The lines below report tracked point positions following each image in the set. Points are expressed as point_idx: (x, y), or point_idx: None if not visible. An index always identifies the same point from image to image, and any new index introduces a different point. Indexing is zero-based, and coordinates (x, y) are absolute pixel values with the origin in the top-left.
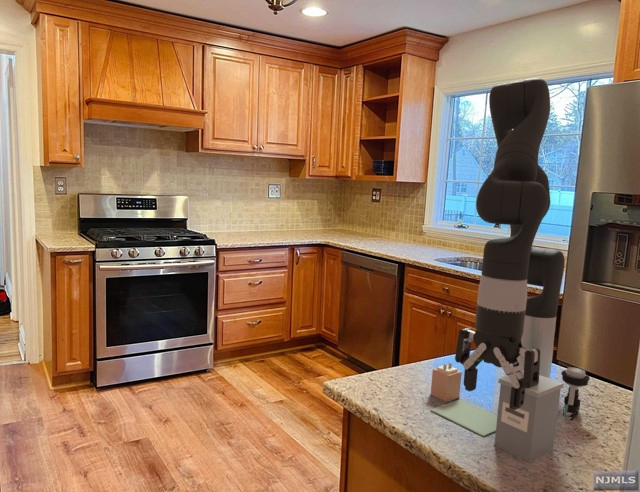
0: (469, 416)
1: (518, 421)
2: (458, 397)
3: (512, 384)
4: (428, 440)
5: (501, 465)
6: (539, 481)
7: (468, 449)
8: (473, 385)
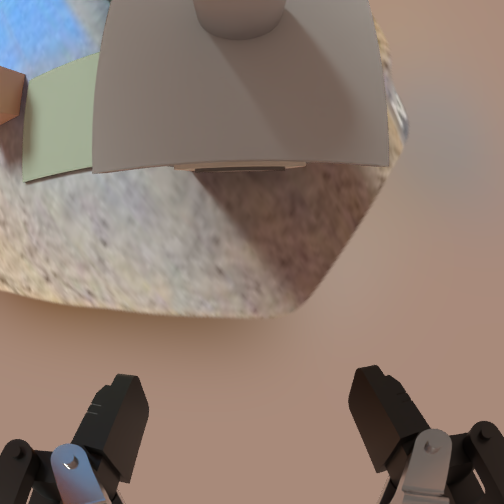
0: (74, 116)
1: (259, 170)
2: (24, 77)
3: (385, 483)
4: (107, 291)
5: (258, 236)
6: (342, 221)
7: (170, 245)
8: (135, 402)
